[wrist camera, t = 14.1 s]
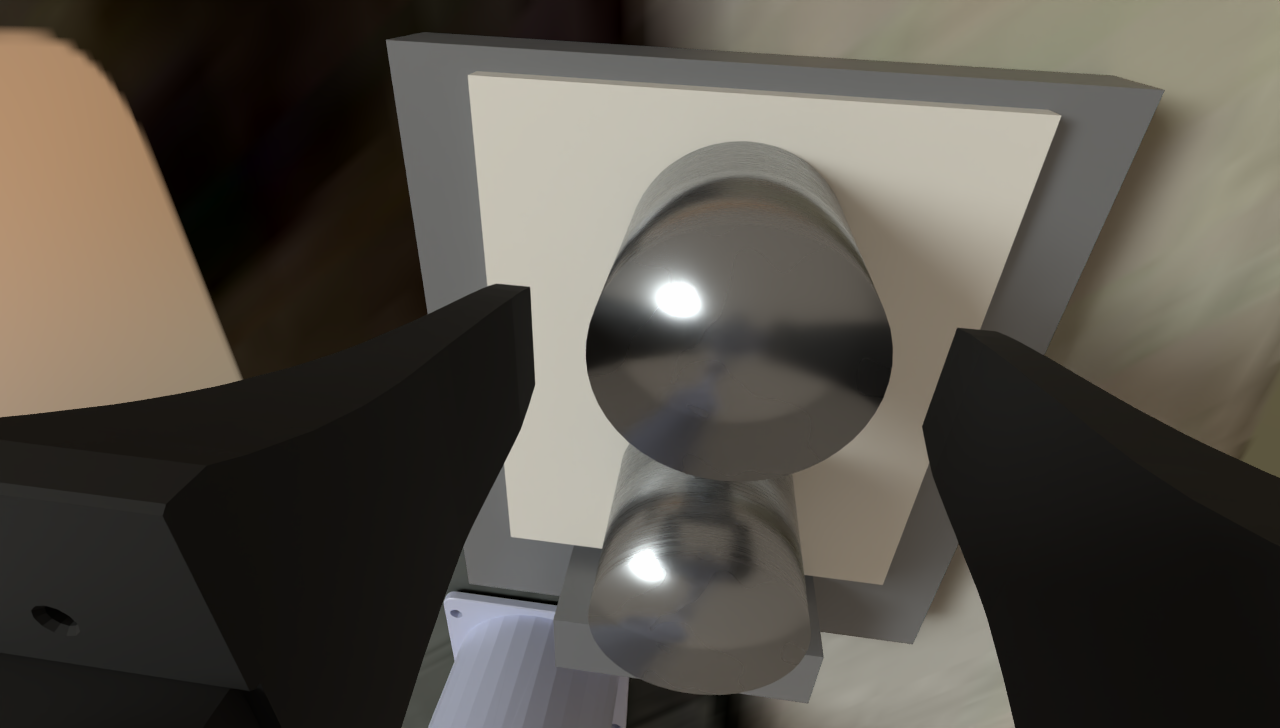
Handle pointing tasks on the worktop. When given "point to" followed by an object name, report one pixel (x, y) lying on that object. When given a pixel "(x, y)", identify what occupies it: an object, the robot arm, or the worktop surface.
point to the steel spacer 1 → (739, 320)
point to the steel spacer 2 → (700, 580)
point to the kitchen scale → (875, 211)
